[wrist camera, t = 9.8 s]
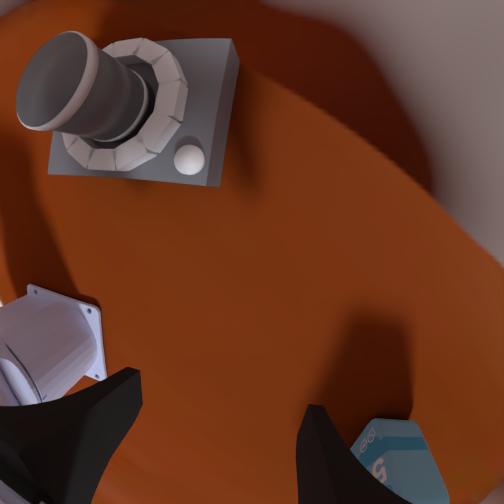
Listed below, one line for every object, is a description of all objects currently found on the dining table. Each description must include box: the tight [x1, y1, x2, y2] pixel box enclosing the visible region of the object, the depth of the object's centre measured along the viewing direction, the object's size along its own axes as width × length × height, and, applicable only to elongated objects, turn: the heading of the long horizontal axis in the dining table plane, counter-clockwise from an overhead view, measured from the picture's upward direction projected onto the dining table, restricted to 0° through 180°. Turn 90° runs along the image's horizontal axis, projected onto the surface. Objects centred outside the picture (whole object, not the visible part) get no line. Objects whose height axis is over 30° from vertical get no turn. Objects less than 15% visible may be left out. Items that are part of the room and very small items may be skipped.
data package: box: [350, 418, 449, 504], centre depth 17 cm, size 12×4×12 cm, turn 165°
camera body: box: [48, 38, 240, 187], centre depth 16 cm, size 12×9×5 cm
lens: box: [16, 31, 155, 144], centre depth 11 cm, size 5×5×7 cm
